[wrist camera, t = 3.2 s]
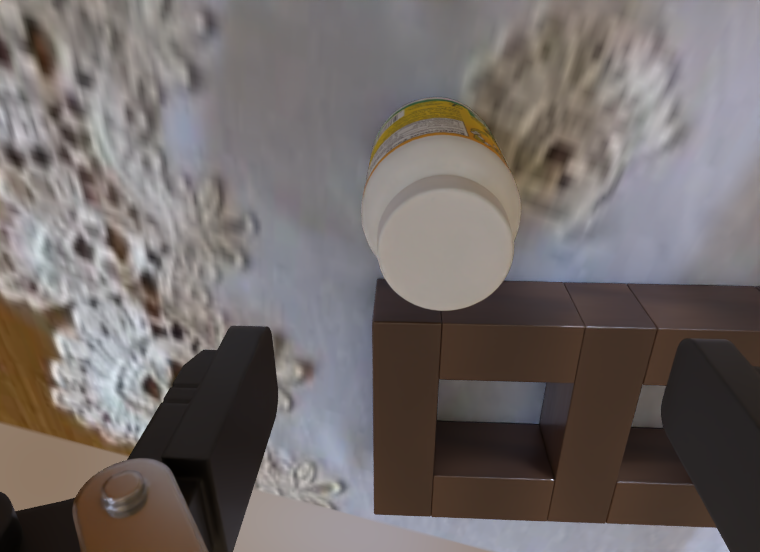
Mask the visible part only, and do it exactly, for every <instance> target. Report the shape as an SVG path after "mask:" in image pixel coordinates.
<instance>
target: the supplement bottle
mask: <svg viewBox="0 0 760 552" xmlns="http://www.w3.org/2000/svg"><path fill="white" fill-rule="evenodd" d="M361 218H362V226H363V230H364V234H365V237H366V240H367V242H368V244H369V246H370V248H371V250H372V251H373V253H374V254H375V256H376V257H377V258H378V262H379V266H380V269H381V272H382V274H383V276H384V278H385V280H386V281H387V283H388V284H389V285H390V287H391V288H392V289H393V290H394V291H395V292H396V293H397V294H398V295H399V296H401V297H402V298H404V299H405V300H407V301H408V302H410V303H412V304H414V305H417V306H420V307H422V308H426V309H431V310H438V311H450V310H457V309H462V308H466V307H469V306H471V305H474V304H476V303H478V302H480V301H482V300H483V299H485V298H487V297H488V296H489V295H491V294H492V293H493V292H494V291H495V290H496V289H497V288H498V287H499V286H500V285H501V283H502V282H503V280H504V279H505V278H506V276H507V274H508V272H509V269H510V267H511V264H512V260H513V255H514V240H515V238H516V235H517V232H518V229H519V224H520V218H521V202H520V196H519V191H518V188H517V185H516V182H515V180H514V177H513V175H512V173H511V171H510V169H509V167H508V165H507V163H506V161H505V159H504V157H503V156H502V154H501V151H500V149H499V148H498V146H497V144H496V142H495V140H494V138H493V136H492V134H491V132H490V130H489V128H488V127H487V126H486V124H485V123H484V122H483V120H482V119H481V118H480V117H479V116H478V115H477V114H476V113H475V112H473V111H472V110H471V109H470V108H468V107H467V106H466V105H464V104H462V103H460V102H458V101H455V100H452V99H448V98H442V97H430V98H424V99H419V100H416V101H413V102H410V103H408V104H406V105H404V106H403V107H401V108H399V109H398V110H397V111H395V112H394V113H393V114H392V115H391V116H390V117H389V118H388V119H387V120H386V121H385V123H384V124H383V125H382V127H381V129H380V130H379V132H378V134H377V136H376V139H375V142H374V145H373V148H372V153H371V158H370V163H369V169H368V173H367V178H366V183H365V188H364V193H363V198H362V207H361Z"/></svg>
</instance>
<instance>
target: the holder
mask: <svg viewBox="0 0 760 552" xmlns="http://www.w3.org/2000/svg"><path fill="white" fill-rule="evenodd" d="M685 338H692V339H726V340H729V341H731V342H732V343H733V344H734V345H735V346H736V348H737V349H738V350H739V351H740V352H741V353H742V355H743V356H744V357H745V358H746V359H747V360H748V361H749V363H750V364H751V365H752V366H759V367H760V287H753V286H708V285H660V284H627V285H626V284H612V283H563V282H526V281H503V282H502V283H501V285H500V286H499V287H498V288H497V289H496V290H495V291H494V292H493V293H492V294H491V295H489V296H488V297H487V298H485V299H483V300H482V301H480V302H478V303H476V304H474V305H471V306H469V307H466V308H462V309H457V310H450V311H438V310H431V309H426V308H422V307H420V306H417V305H414V304H412V303H410V302H408V301H407V300H405V299H404V298H402V297H401V296H399V295H398V294H397V293H396V292H395V291H394V290H393V289H392V288H391V287H390V285H389V284H388V283H387V281H386V280H385V279H377V284H376V293H375V302H374V311H373V320H372V353H373V457H374V514H378V515H404V516H432V517H450V518H475V519H501V520H527V521H556V522H582V523H605V522H606V523H612V524H638V525H664V526H689V527H715V528H717V527H716V525H715V523H714V521H713V520H712V518H711V516H710V514H709V512H708V510H707V509H706V507H705V505H704V503H703V501H702V499H701V498H700V496H699V494H698V492H697V490H696V488H695V487H694V485H693V483H692V481H691V479H690V477H689V476H688V474H687V472H686V470H685V468H684V466H683V465H682V463H681V461H680V459H679V457H678V455H677V454H676V452H675V450H674V448H673V446H672V444H671V443H670V441H669V439H668V437H667V435H666V433H665V431H664V429H654V428H631V425H632V421H633V418H634V414H635V410H636V406H637V403H638V399H639V395H640V391H641V388H642V384H643V385H663V386H667V382H668V379H669V375H670V372H671V368H672V365H673V361H674V358H675V354H676V351H677V348H678V345H679V343H680V342H681V341H682V340H683V339H685ZM439 379H445V380H480V381H515V382H547V383H546V389H545V395H544V401H543V407H542V413H541V418H540V424H539V425H536V424H505V423H473V422H442V421H437V405H438V388H439Z"/></svg>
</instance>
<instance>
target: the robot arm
mask: <svg viewBox="0 0 760 552" xmlns="http://www.w3.org/2000/svg"><path fill="white" fill-rule="evenodd" d="M277 405H278V385H277V376H276V367H275V359H274V350H273V341H272V334H271V330H270V328H269V327H262V326H231V327H230V328H229V329H228V331H227V333H226V335H225V337H224V338H223V340H222V342H221V344H220V346H219V348H218V350H203V351H201V352H200V353H199V354H197V355H196V356H195V357H194V358H192V359H191V360H190V361H189V362H187V363H186V364H185V365H184V366H183V367H182V369H181V371H180V372H179V374H178V376H177V377H176V379H175V381H174V382H173V387H170V389H169V391H168V392H167V394H166V396H165V397H164V401H163V403H161V404H160V406H159V407H158V409H157V411H156V412H155V414H154V416H153V417H152V419H151V421H150V422H149V424H148V426H147V427H146V429H145V431H144V432H143V434H142V436H141V437H140V439H139V441H138V443H137V444H136V446H135V448H134V449H133V451H132V453H131V454H130V456H129V458H128V459H127V460H126V461H122V462H119V463H116V464H113V465H111V466H109V467H107V468H105V469H103V470H102V471H100V472H98V473H97V474H96V475H94V476H93V477H92V478H91V479H89V480H88V481H87V482H86V483H85V484H84V486H83V487H82V488H81V489H80V491H79V492H78V494H77V495H76V497H75V498H73V499H69V500H66V501H61V502H56V503H52V504H47V505H43V506H38V507H34V508H29V509H24V510H20V511H14V508H13V506H12V504H11V501H10V500H9V498H8V497H7V496H6V495H5V494H4V493H2V492H0V552H233V550H234V547H235V543H236V540H237V537H238V534H239V531H240V527H241V524H242V521H243V518H244V515H245V512H246V509H247V506H248V503H249V499H250V496H251V493H252V490H253V487H254V484H255V481H256V478H257V474H258V471H259V468H260V465H261V462H262V459H263V456H264V452H265V449H266V446H267V443H268V440H269V437H270V434H271V430H272V427H273V424H274V421H275V417H276V412H277ZM661 417H662V424H663V428H664V431H665V433H666V435H667V437H668V439H669V441H670V443H671V444H672V446H673V448H674V450H675V452H676V454H677V455H678V457H679V459H680V461H681V463H682V465H683V466H684V468H685V470H686V472H687V474H688V476H689V477H690V479H691V481H692V483H693V485H694V487H695V488H696V490H697V492H698V494H699V496H700V498H701V499H702V501H703V503H704V505H705V507H706V509H707V510H708V512H709V514H710V516H711V518H712V520H713V521H714V523H715V525H716V527H717V529H718V531H719V532H720V534H721V536H722V538H723V540H724V542H725V543H726V545H727V547H728V549H729V551H730V552H760V367H759V366H752V365H751V364H750V363H749V361H748V360H747V359H746V358H745V357H744V356H743V355H742V353H741V352H740V351H739V350H738V349H737V348H736V346H735V345H734V344H733V343H732V342H731V341H729V340H726V339H692V338H685V339H683V340H682V341H681V342H680V343H679V345H678V348H677V351H676V354H675V358H674V361H673V365H672V368H671V372H670V375H669V379H668V382H667V386H666V389H665V393H664V396H663V400H662V405H661Z"/></svg>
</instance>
